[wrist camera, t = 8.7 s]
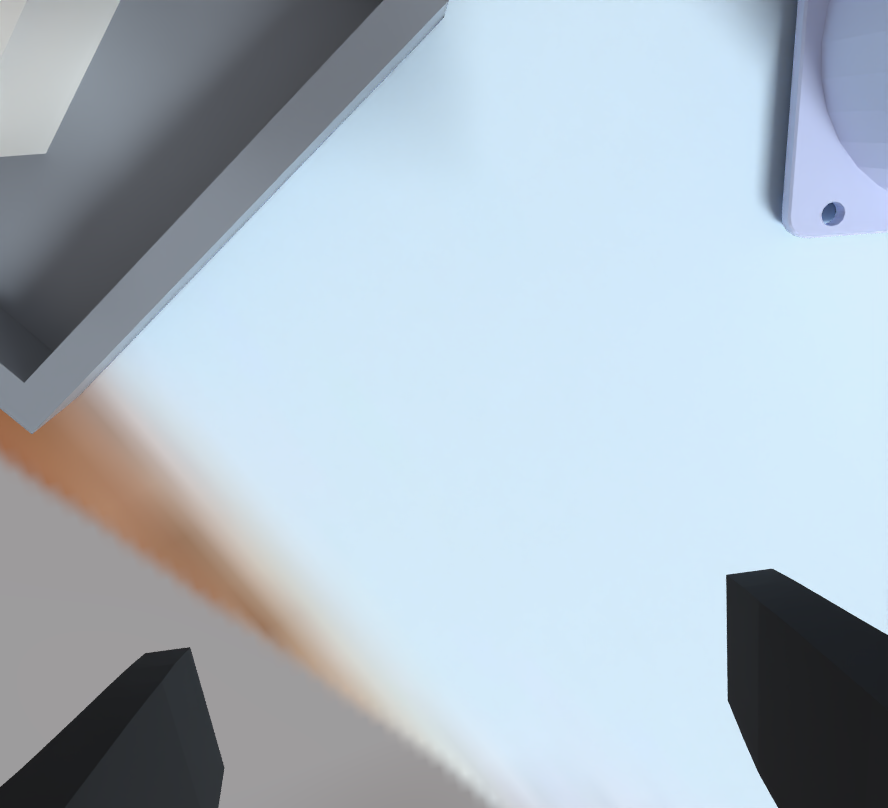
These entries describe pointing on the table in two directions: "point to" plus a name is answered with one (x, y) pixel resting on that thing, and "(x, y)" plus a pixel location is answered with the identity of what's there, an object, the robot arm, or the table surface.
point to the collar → (44, 65)
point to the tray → (170, 167)
